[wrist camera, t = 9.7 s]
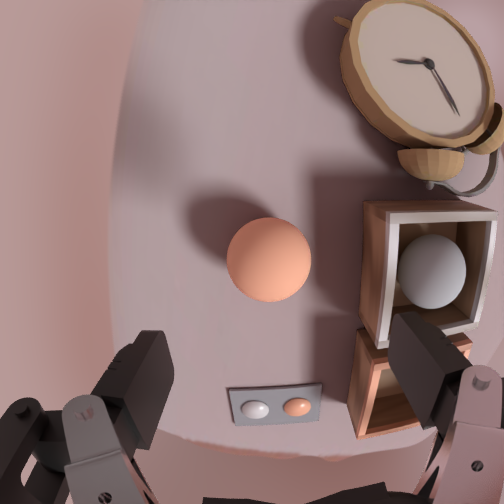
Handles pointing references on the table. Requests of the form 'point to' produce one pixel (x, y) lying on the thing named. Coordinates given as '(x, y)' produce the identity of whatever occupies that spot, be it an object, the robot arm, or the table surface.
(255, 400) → the card
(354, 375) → the terracotta-rimmed square box
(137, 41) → the table surface
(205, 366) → the table surface
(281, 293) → the terracotta ball
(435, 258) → the grey ball
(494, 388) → the robot arm
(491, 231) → the grey-band box
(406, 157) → the alarm clock
